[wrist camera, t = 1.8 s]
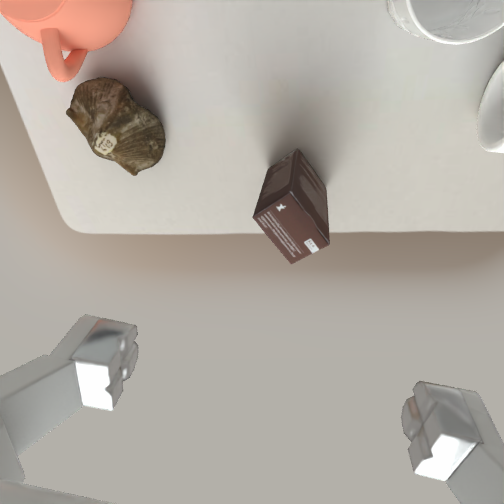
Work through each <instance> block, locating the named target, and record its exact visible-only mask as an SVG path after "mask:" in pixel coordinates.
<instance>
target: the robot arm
mask: <svg viewBox="0 0 504 504" xmlns="http://www.w3.org/2000/svg"><path fill="white" fill-rule="evenodd" d="M137 335H138V332H137V326H136V325H133V324H128V323H124V322H119V321H115V320H111V319H106V318H100V317H95V316H91V315H86V314H85V315H84V316H82V317H80V318H79V320H78V321H77V322H76V323H75V325H74V326H73V327H72V328H71V329H70V331H69V332H68V333H67V335H66V336H65V337H64V338H63V339H62V340H61V342H60V343H59V344H58V345H57V347H56V348H55V349H54V350H53V351H52V353H51V354H50V355H49V356H48V355H42V356H40V357H38V358H36V359H34V360H32V361H30V362H28V363H26V364H24V365H22V366H20V367H18V368H16V369H14V370H12V371H9V372H7V373H6V374H3V375H1V376H0V504H114V503H109V502H105V501H101V500H96V499H91V498H87V497H83V496H78V495H73V494H69V493H64V492H60V491H55V490H51V489H46V488H41V487H37V486H32V485H28V484H23V483H22V482H23V481H24V479H25V475H24V471H23V468H22V466H21V464H20V461H19V458H18V455H20V454H21V453H22V452H24V451H25V450H26V449H28V448H29V447H30V446H32V445H33V444H34V443H36V442H37V441H38V440H39V439H41V438H42V437H44V436H45V435H46V434H48V433H49V432H50V431H52V430H53V429H54V428H55V427H57V426H58V425H60V424H61V423H62V422H64V421H65V420H66V419H68V418H69V417H70V416H71V415H73V414H74V413H75V412H77V411H78V410H80V409H81V408H82V406H88V407H94V408H99V409H105V410H111V411H113V409H114V407H115V405H116V403H117V401H118V399H119V398H120V396H121V394H122V392H123V381H125V380H127V379H128V378H130V376H131V374H132V372H133V370H134V368H135V364H136V362H137V358H138V345H137V343H136V342H135V341H134V340H135V339H136V337H137ZM413 392H414V395H415V396H413V397H410V398H408V399H407V400H406V402H405V404H404V406H403V409H402V427H403V431H404V434H405V435H406V436H407V437H408V439H409V440H410V441H411V444H410V446H409V448H408V452H409V455H410V459H411V463H412V467H413V471H414V474H417V475H421V476H426V477H430V478H434V479H438V480H443V481H447V482H446V484H447V485H448V487H449V488H450V490H451V491H452V492H453V493H454V495H455V496H456V498H457V499H458V501H459V502H460V503H461V504H504V444H503V442H502V439H501V437H500V435H499V433H498V431H497V430H496V427H495V425H494V423H493V421H492V419H491V417H490V415H489V413H488V411H487V409H486V407H485V405H484V403H483V401H482V399H481V397H480V395H479V394H478V393H477V392H475V391H471V390H465V389H460V388H454V387H449V386H445V385H439V384H433V383H429V382H423V381H419V382H418V383H416V385H415V386H414V388H413Z"/></svg>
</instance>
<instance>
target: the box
mask: <svg viewBox="0 0 504 504" xmlns="http://www.w3.org/2000/svg"><path fill="white" fill-rule="evenodd" d="M253 219H254V220H255V221H256V222H257V223H258V225H259V226H260V227H261V228H262V230H263V231H264V232H265V234H266V235H267V236H268V237H269V238H270V239H271V241H272V242H273V243H274V244H275V246H276V247H277V248H278V249H279V250H280V252H281V253H282V254H283V255H284V256H285V258H286V259H287V260H288V261H289V262H290V264H293V263H295V262H297V261H299V260H301V259H303V258H305V257H306V256H308V255H310V254H312V253H314V252H316V251H318V250H320V249H322V248H324V247H326V246H328V245H329V244H330V240H329V223H328V207H327V191H326V188H325V186H324V185H323V183H322V182H321V180H320V179H319V177H318V176H317V174H316V173H315V171H314V170H313V169H312V167H311V166H310V164H309V163H308V161H307V160H306V159H305V157H304V156H303V154H302V153H301V152H300V150H299V149H296V150H294V151H292V152H291V153H290V154H289V155H287V156H286V157H284V158H283V159H282V160H280V161H279V162H277V163H276V164H275V165H273V166H271V167H270V168H269V169H268V171H267V174H266V177H265V180H264V183H263V186H262V189H261V193H260V196H259V199H258V202H257V205H256V208H255V211H254V215H253Z"/></svg>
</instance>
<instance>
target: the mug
mask: <svg viewBox="0 0 504 504" xmlns="http://www.w3.org/2000/svg"><path fill="white" fill-rule="evenodd" d="M477 137H478V141H479V143H480V145H481V147H482V148H483V149H485V150H486V151H489V152H499V153H504V61H503V62H502V63H501V64H500V65H499V67H498V68H497V69H496V71H495V72H494V74H493V76H492V77H491V79H490V81H489V83H488V85H487V87H486V90H485V92H484V94H483V97H482V100H481V104H480V107H479V112H478V117H477Z"/></svg>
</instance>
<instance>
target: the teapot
mask: <svg viewBox="0 0 504 504" xmlns="http://www.w3.org/2000/svg"><path fill="white" fill-rule="evenodd" d="M131 8H132V0H0V13H1V14H2V15H3V16H4V17H5V18H6V19H7V20H8V21H9V22H10V23H11V24H12V25H13V26H15V27H16V28H17V29H18V30H20V31H21V32H22V33H24V34H25V35H27V36H28V37H30V38H32V39H33V40H36V41H38V42H40V43H42V45H43V50H44V55H45V59H46V63H47V67H48V69H49V71H50V73H51V75H52V76H53V77H54V78H55V79H56V80H57V81H60V82H66V81H69V80H71V79H73V78H74V77H75V76H76V74H77V73H78V72H79V70H80V68H81V66H82V64H83V61H84V59H85V57H86V54H87V52H89V51H93V50H97V49H100V48H102V47H104V46H106V45H108V44H109V43H111V42H112V41H113V40H114V39H116V38H117V36H118V35H119V34H120V33H121V32H122V31H123V29H124V27H125V26H126V24H127V22H128V19H129V16H130V13H131ZM62 50H64V51H70V54H69V55H68V57H67V58H66V59H65V60H64V58H63V55H62Z"/></svg>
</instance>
